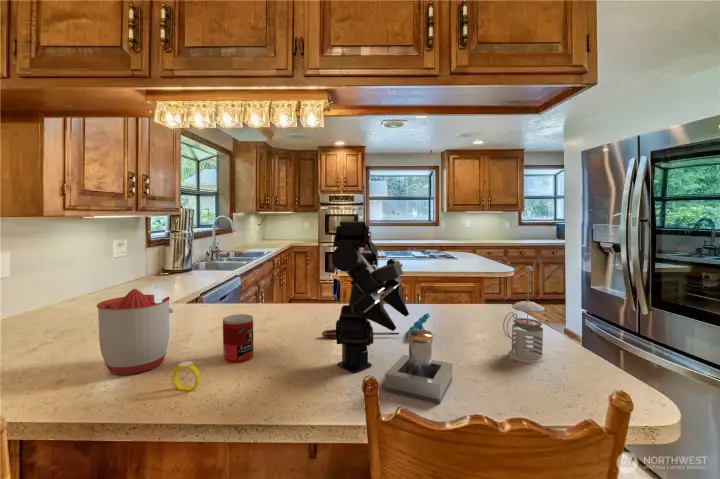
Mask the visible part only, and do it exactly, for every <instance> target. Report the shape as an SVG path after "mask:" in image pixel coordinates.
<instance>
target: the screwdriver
mask: <svg viewBox="0 0 720 479" xmlns="http://www.w3.org/2000/svg"><path fill="white" fill-rule="evenodd" d="M400 334H401V333H400V332H386V331H385V332H383V331H382V332H379V331H378V332H373V336H390V335H392V336H394V335H400ZM321 336H322V337H323V338H326V339H327V338H328V339H336V328H335V329H325V330H324V331H322V334H321Z"/></svg>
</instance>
